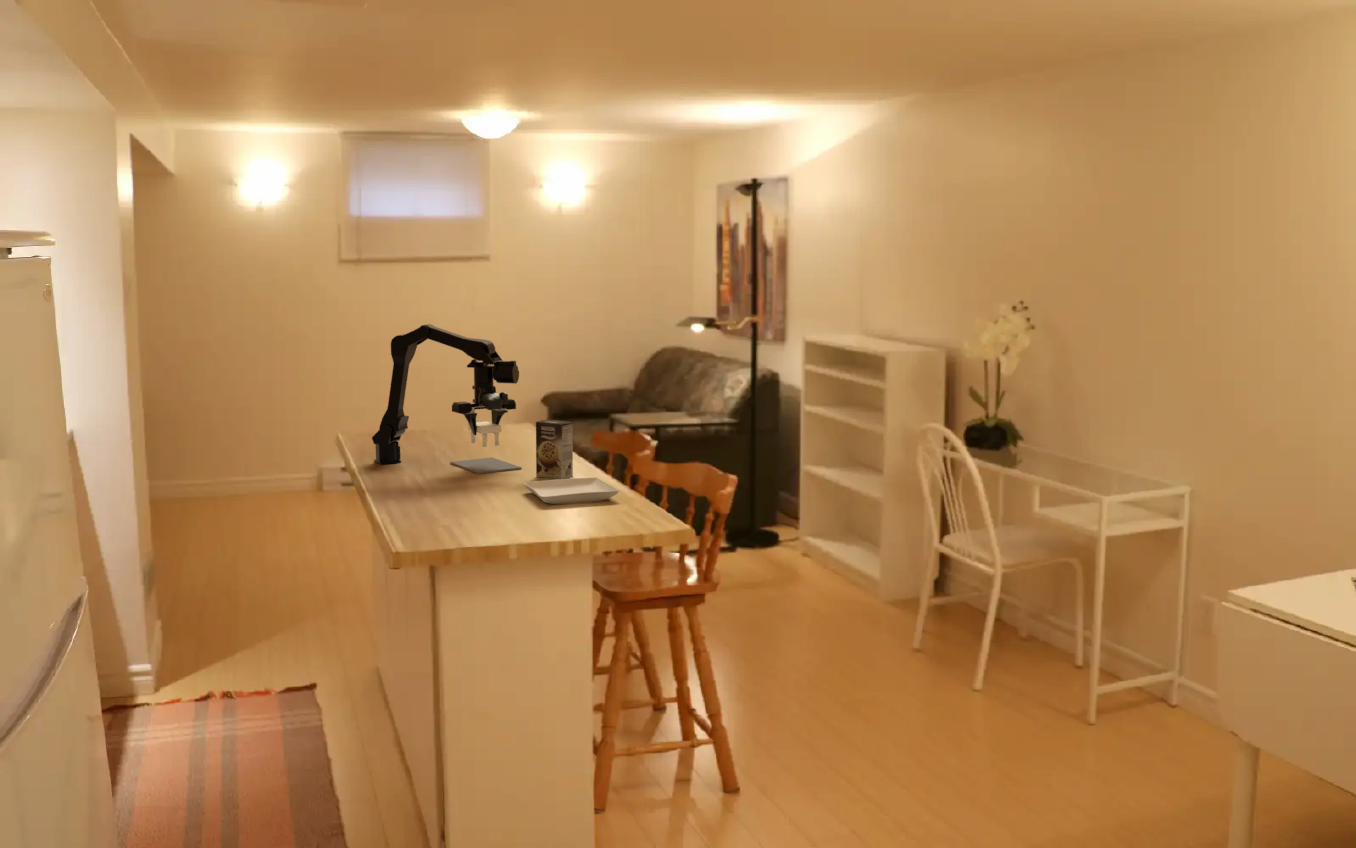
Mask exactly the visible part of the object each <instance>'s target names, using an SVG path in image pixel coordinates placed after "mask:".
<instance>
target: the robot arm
mask: <svg viewBox="0 0 1356 848" xmlns="http://www.w3.org/2000/svg"><path fill="white" fill-rule="evenodd" d="M427 340H430V341H433V342H437V343H439V344H443V345H445V346H448V347H451V348H454V349H457V350H459V351H461V352H463V353H464V354H465V355H466V356H468V357H470V358H471V361H470V362H469V363H468V364H467V365H466V368H470V369H471V368H472V369H473V382H474V383H473V385H472V390H474V392H473V393H474V396H473V397H474V398H473V399H472V403H471V402H468V401H454V402H453V403H452V405H451V412H453V413H456V414H461V415H463V416H464V418H465V420H466V421H467V422H468V423H469V425H470V427H471V430H472V432H473V434H474V435H475V436H477V433H478V432H477V428H476V422H477V416H478V413H477V412H475V411H476V410H485V409H486V410H487V411H491V413H490V414H491V423H494V424H497V425H500V421H501V419H502V417H503V416H504V415H505V414H506V413H508V412H509V410H516V409H517V402H516V401H515V399H512V398H509V395H508V393H507V392H505V391H504V392H500V393H499V392H497V389H496V388H497V387H496V386H495V385H494V381H496V384H513V385H514V384H515V385H517V384H518V382H519V379H520V370H519V367H518V365H517V361H516V360H503V359H502V358H501V356H500V355H499V353H498V352H497V351H496V346H495V344H494V343H493V341H491V340H487V339H483V338H482V339H481V338H472V337H466V336H463V335H461V334H458V333H455V332H451V331H449V330H446V329H443V328H440V327H437V326H434V325H433V324H431V323H428V324H427V323H426V324H423V325H420V326H419V327H418V328H415V329H414V330H411V331H409V332H407V333H403V334H398V335H395V336H394V337H393V338H391V341H390V355H391V359H392V362H393V366H392V372H391V380H390V388H389V397H388V403H387V407H386V408H387V409H386V410H385V412H384V415H382V419H381V421H380V424H379V426H378V427H379V429H378V431H377V432H376V433H375V434H374V435H372V437H371V440H372V442H373V444H374V445H375V459H374V460H373V462H375V463H378V464H379V465H386V464H387V465H388V464H394V463H395V464H397V463H402V460H401V446H400V445H399V444H400V443H399V441H400V440H401V437H402V435H403V434H404V433H405V432H406V430H407V429H408V428H409V426H408V422H409V418H410V417H409V415H405V411H404V406H405V398H406V397H405V396H406V392H407V391H406V389H407V382H408V377H409V376H408V375H409V369H410V363H411V362H412V360H413V358H414V356H415V354H416V352H417V348H418V346H419V345H420V344H423V343H424V342H425V341H427ZM468 423H467V424H468ZM471 430H470V431H471ZM493 434H494V435H495V433H493Z"/></svg>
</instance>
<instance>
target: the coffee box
mask: <svg viewBox="0 0 1356 848" xmlns="http://www.w3.org/2000/svg"><path fill="white" fill-rule="evenodd" d="M573 431H574V422H573V421H567V420H566V421H565V420H556V419H544V420H539V421H537V420H536V422H535V458H536V459H535V467H536V468H535V472H536V473H535V476H536V477H538V478H539V477H541V478H547V479H553V480H556V479H569V478H572V477H573V473H574V472H573V471H574V469H573V468H574V463H573V461H574V460H573V458H574V457H573V455H574V454H573V452H574V450H573V449H574V447H573V446H574V444H573V441H574V439H573V437H574V436H573V434H574V432H573Z"/></svg>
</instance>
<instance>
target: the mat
mask: <svg viewBox="0 0 1356 848" xmlns="http://www.w3.org/2000/svg"><path fill="white" fill-rule="evenodd" d="M449 463H450V465H452V464H453V465H452V466H456V467H457V468H461V467H462V468H461V469H463V468H464V469H463V470H466V471H468V472H472V473H474V474H478V475H481V474H482V475H483V474H484V473H485V474H491V473H500V472H501V473H502V472H509V471H517V470H518V471H519V470H522V466H519V465H516V464H513V463H510V462H508V461H504V460H500V459H498V458H496V457H483V458H474V459H473V458H472V459H466V460H465V459H464V460H456V461H450V462H449Z"/></svg>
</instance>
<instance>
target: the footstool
mask: <svg viewBox="0 0 1356 848" xmlns="http://www.w3.org/2000/svg"><path fill="white" fill-rule="evenodd" d="M467 425H468V427H467V428H468V431H470V443H471V444H475V443H476V435H474V434H473V432H472V430H471V427H470V425H469V423H467ZM476 428H477V433H479V434H482V436H481V437H482V447H484V448H486V447H488V444H487V443H488V434H494V433H495V434H494V446H500V438H499V437H500V433H502V425H500V424H499V425H497V424H494V423H492V422H490V421H476Z"/></svg>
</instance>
